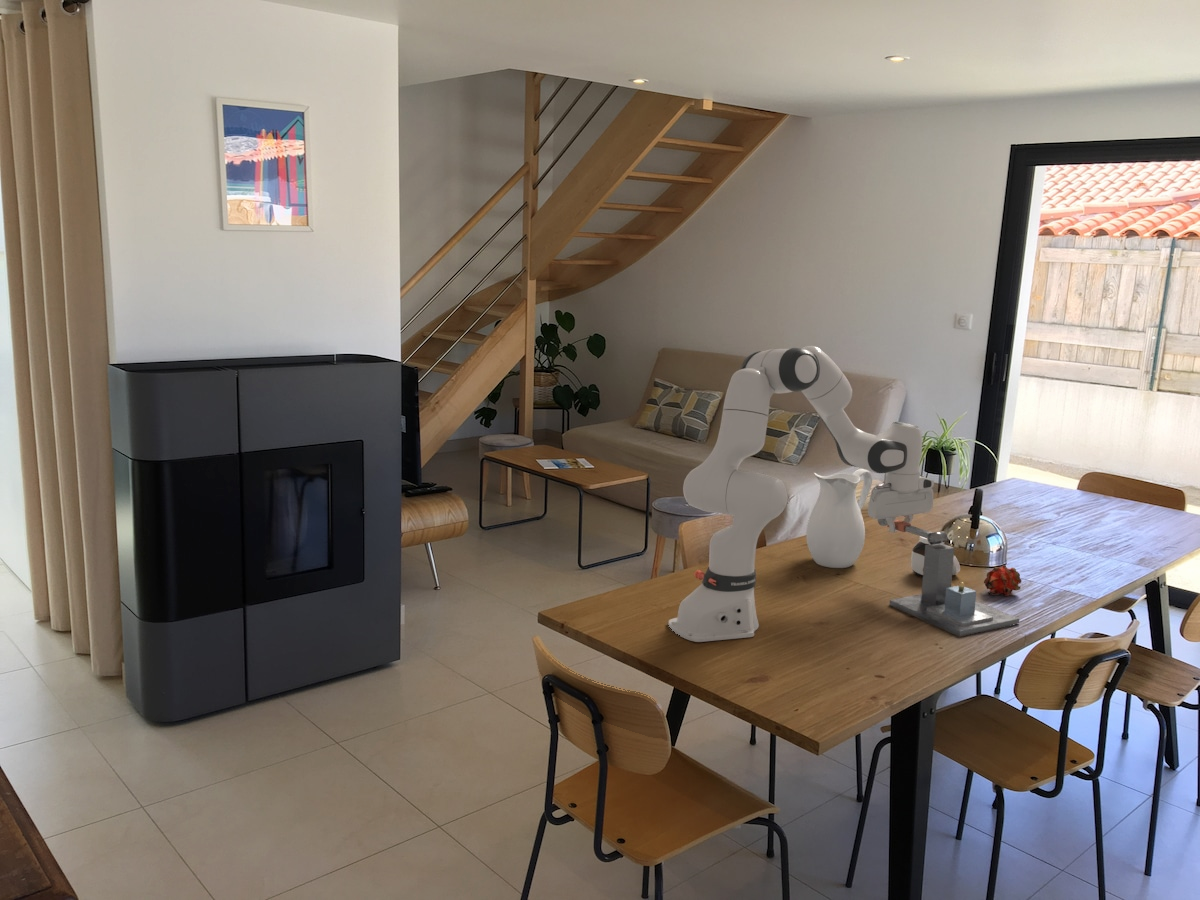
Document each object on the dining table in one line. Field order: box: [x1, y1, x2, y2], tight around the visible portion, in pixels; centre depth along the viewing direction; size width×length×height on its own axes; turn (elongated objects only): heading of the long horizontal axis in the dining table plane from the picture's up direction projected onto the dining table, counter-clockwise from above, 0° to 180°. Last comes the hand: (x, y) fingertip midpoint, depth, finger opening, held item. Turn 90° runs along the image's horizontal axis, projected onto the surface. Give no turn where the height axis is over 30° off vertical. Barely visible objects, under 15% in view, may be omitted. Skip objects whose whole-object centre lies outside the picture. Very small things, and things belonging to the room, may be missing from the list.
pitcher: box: [806, 468, 873, 569], centre depth 285 cm, size 24×17×28 cm
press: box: [889, 543, 1020, 638], centre depth 242 cm, size 20×24×16 cm
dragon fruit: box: [983, 564, 1022, 597], centre depth 259 cm, size 8×8×12 cm
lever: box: [877, 518, 949, 545], centre depth 255 cm, size 4×23×3 cm, turn 26°
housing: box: [944, 581, 977, 617], centre depth 238 cm, size 5×5×8 cm
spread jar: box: [910, 536, 961, 579], centre depth 274 cm, size 12×11×12 cm
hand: (898, 531), depth 259 cm, fingers closed on lever, 3 cm apart
